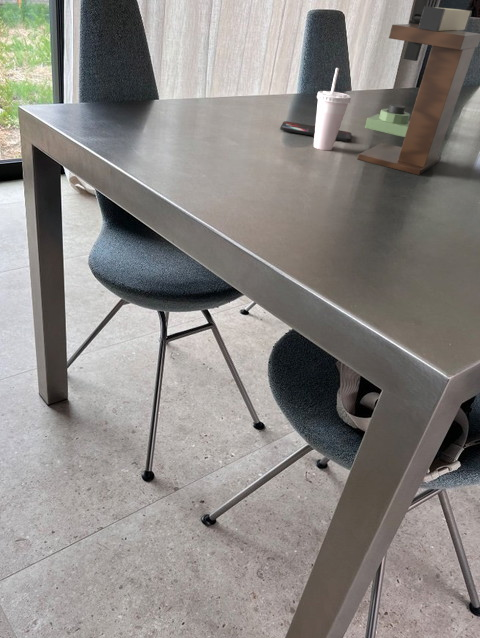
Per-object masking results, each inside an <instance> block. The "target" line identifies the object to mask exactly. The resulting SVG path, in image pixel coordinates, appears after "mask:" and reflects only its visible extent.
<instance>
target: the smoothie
mask: <svg viewBox="0 0 480 638" xmlns="http://www.w3.org/2000/svg"><path fill="white" fill-rule="evenodd" d="M339 70H340V68H339V67H335V71H334V75H333V80H332V84H331V90H320V91H319V90H318V92H317V95H316V99H317V106H316V115H315V125H314V126H315V136H313V137H314V138H313V148H315V149H317V150H321V151H332V150H333V148H334V145H335V143H336V140H335V139H336V137H337V134H338V131H339V130H340V127H341V125H342V123H343V120H344V117H345V114H346V112H347V108H348V106H349V104H350V103H351V100H352V96H351V95H350V94H346V93H343V92H339V91H335V88H336V84H337V79H338V76H339Z"/></svg>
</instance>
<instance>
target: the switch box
mask: <svg viewBox="0 0 480 638" xmlns="http://www.w3.org/2000/svg"><path fill="white" fill-rule="evenodd" d="M388 109H389V108H382V109H381V110H380V111H379V113H377V114H374V115H371V116H369V117H367V118H366V121H365V125H364V129H369V130H373V131H377V132H381V133H386V134H390V135H394V136H397V137H402V138H405V135H406V132H407V128H408V125H409V122H410V118H411V113H410V112H406V111H404V114H395V113H390V112H388Z"/></svg>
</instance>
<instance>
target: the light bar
mask: <svg viewBox="0 0 480 638" xmlns="http://www.w3.org/2000/svg"><path fill="white" fill-rule="evenodd" d="M472 12H473V11H472V10H469V9H462V8H447V7H428V6H424V10H423V13H422V17H421V20H420V24H419V27H418V29H424V30H431V31H448V30H458V31H467V29H468V26H469V22H470V18H471V16H472Z"/></svg>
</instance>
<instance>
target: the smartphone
mask: <svg viewBox="0 0 480 638" xmlns="http://www.w3.org/2000/svg"><path fill="white" fill-rule="evenodd" d="M315 126H316V125H311V124H305V123H299V122H294V121H283V122H282V124H281V125H280V127H279V130H281V131H284V132H288V133H289V132H290V133H295V134H302V135H305V136H313V137H314V136H315ZM351 140H352V132H350V131H345V130H340V129H339V131H338V134H337V137H336V139H335V141H342V142H347V143H349V142H351Z"/></svg>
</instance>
